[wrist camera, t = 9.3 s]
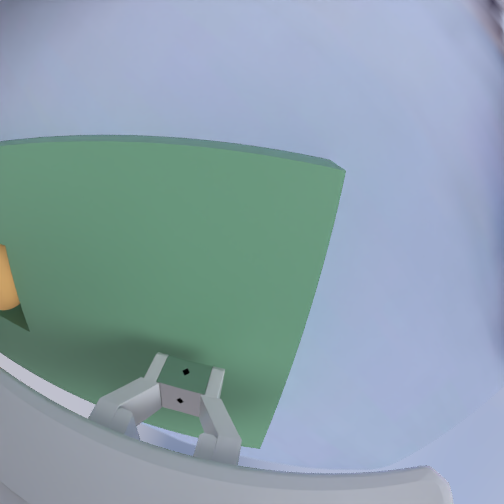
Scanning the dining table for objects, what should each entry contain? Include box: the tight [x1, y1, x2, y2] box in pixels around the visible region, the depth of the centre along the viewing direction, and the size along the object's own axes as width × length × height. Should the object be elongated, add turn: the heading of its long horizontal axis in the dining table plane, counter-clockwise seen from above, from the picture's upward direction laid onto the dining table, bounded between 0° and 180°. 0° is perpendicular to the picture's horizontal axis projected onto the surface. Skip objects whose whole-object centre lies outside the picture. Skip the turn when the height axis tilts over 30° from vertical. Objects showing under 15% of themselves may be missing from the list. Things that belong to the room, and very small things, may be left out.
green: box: [0, 135, 346, 449], centre depth 13 cm, size 18×26×6 cm
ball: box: [0, 244, 20, 310], centre depth 14 cm, size 5×5×5 cm
